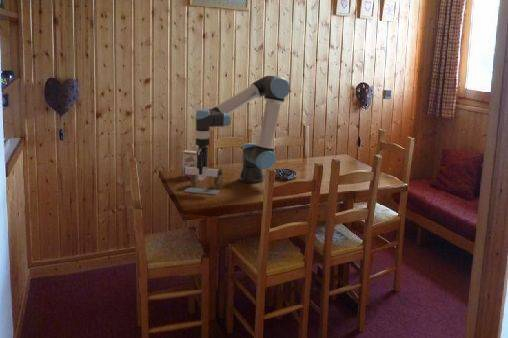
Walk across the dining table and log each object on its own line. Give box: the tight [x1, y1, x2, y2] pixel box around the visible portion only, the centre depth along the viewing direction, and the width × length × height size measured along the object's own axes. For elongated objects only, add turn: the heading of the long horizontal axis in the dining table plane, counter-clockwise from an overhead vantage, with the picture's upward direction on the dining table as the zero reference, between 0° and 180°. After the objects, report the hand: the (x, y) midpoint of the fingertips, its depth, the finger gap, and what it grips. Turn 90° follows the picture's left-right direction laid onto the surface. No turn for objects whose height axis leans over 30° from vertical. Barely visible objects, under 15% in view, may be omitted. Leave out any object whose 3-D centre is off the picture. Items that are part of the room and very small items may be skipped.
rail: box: [184, 167, 220, 178], centre depth 282 cm, size 20×4×4 cm, turn 78°
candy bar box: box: [181, 149, 198, 179], centre depth 313 cm, size 11×5×16 cm, turn 70°
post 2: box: [213, 167, 223, 190], centre depth 293 cm, size 3×7×11 cm, turn 168°
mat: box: [183, 186, 221, 196], centre depth 285 cm, size 19×8×1 cm, turn 78°
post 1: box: [190, 166, 200, 188], centre depth 296 cm, size 3×7×11 cm, turn 168°
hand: (202, 178), depth 283 cm, fingers closed on rail, 3 cm apart
